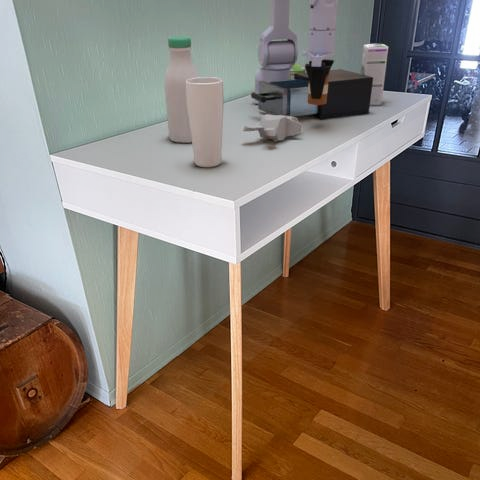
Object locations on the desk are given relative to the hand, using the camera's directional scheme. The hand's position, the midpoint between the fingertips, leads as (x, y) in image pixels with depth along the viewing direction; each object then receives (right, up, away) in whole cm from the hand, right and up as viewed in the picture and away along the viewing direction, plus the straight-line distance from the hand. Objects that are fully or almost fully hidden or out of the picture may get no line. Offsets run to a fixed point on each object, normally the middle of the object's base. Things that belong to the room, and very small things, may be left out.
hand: (317, 96), depth 117 cm
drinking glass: (-24, -22, -19) cm, 38 cm away
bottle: (0, -1, +1) cm, 1 cm away
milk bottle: (-30, -11, -4) cm, 32 cm away
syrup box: (+18, +9, +24) cm, 31 cm away
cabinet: (+6, +4, +17) cm, 19 cm away
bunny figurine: (-10, -12, -5) cm, 16 cm away
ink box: (-2, +18, +38) cm, 42 cm away
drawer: (-6, +1, +12) cm, 14 cm away
